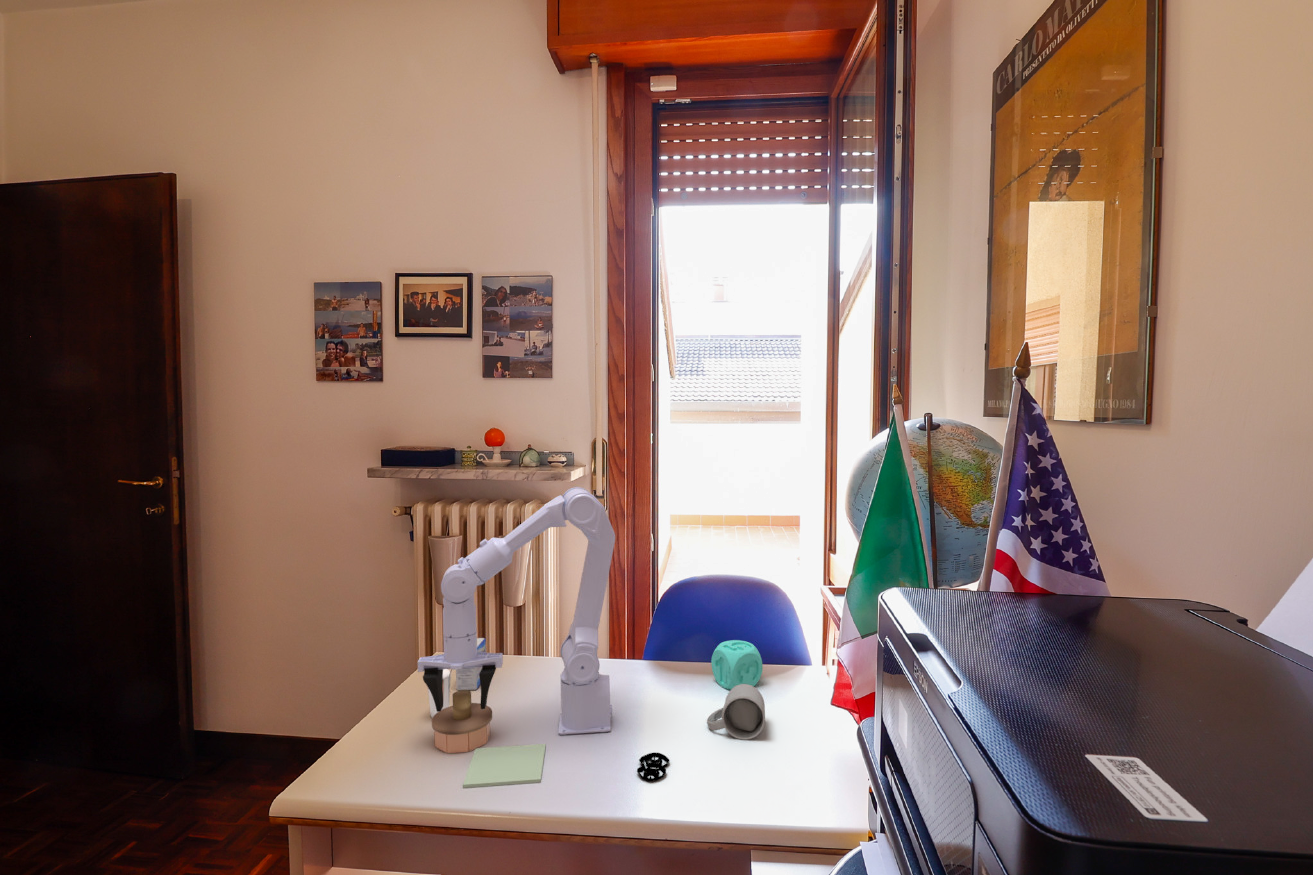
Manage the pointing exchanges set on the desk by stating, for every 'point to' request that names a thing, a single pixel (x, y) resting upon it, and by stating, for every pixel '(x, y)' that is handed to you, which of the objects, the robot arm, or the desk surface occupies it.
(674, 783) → the desk surface
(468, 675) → the medicine box
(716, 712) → the ceramic mug
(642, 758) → the black flat openwork piece
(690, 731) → the desk surface
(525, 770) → the green mat
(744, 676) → the decorative dice
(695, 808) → the desk surface
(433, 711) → the milkshake
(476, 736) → the terracotta bowl
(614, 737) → the desk surface
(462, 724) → the walnut lid
